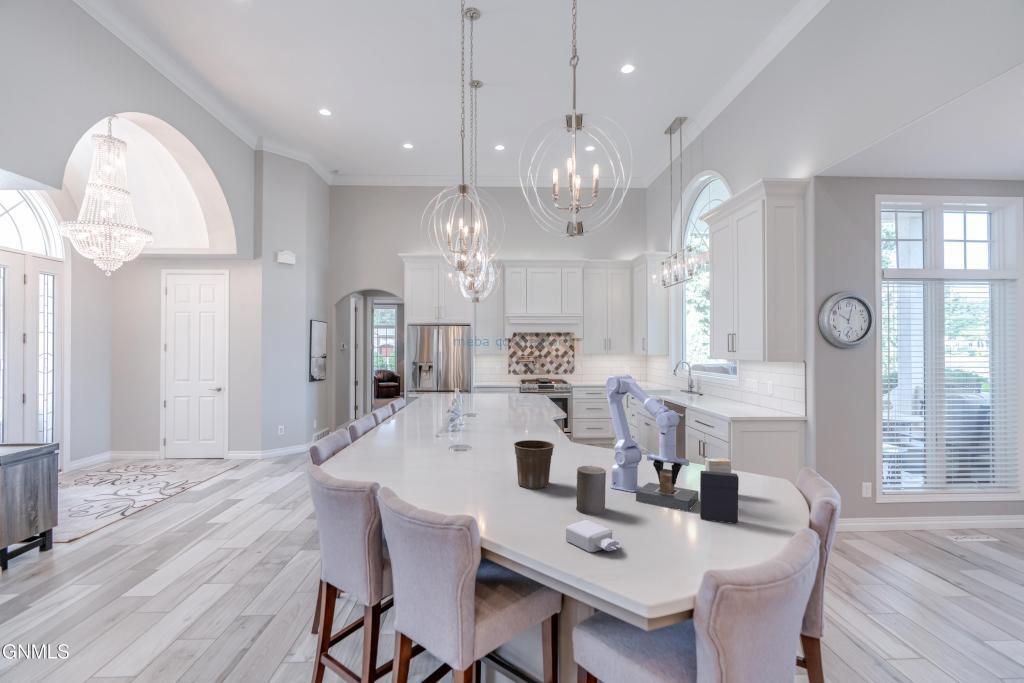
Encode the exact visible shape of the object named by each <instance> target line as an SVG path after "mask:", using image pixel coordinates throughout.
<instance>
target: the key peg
mask: <svg viewBox="0 0 1024 683" xmlns="http://www.w3.org/2000/svg"><path fill="white" fill-rule="evenodd" d="M659 484H660V492H663V493H669V494H674V487H675V485H672V469H667V468H663V469H662V470H661V471H660V482H659Z"/></svg>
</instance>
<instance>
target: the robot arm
mask: <svg viewBox="0 0 1024 683" xmlns="http://www.w3.org/2000/svg"><path fill="white" fill-rule="evenodd" d="M605 389H606V392H607V393H606V399H607V403H608V408H609V412H610V416H611V419H612V425H613V429H614V432H615V436H616V440H617V442H616V444H615V445H614V447H613V450H614V460H615V463H614V464H613V465H612V467H611V468H612V469H611V486H610V488H611V489H614V490H621V491H625V492H631V493H636V491H637V490H639V489H640V488H642V486H641V485H638V479H639V478H638V471H639V470H638V468H639V467H638V466H639V465H640V464H639V463H640V462H641V461H642V459H643V455H642V454H643V453H642V451H641V450H640V448H639V446H638V443H637V442H636V441H635V440H633V438H632V435H631V430H630V428H629V427H630V426H629V423H628V421H627V416H626V412H625V408H624V403H623V399H624V397H625V396H626V395H627V394H628V393H630V394H631V395H632V396H633V397H635V398H636V399H637V400H638V401H640V402H641V403H642V404H643V408H644V410H645V411H646V412H647V413H648V414H649V415H651V416H652V417H653V418H654V419H655V422H656V425H657V426H658V431H659V432H658V433H659V438H658V439H659V441H658V442H659V445H658V446H659V447H658V448H659V453H658V454H651V453H648V454H646V461H653V463H652V466H653V467H654V469H655V471H656V474H657V477H658V482H659V483H660V471H661V470H662V469H664V463H668V464H672V465H671V470H672V485H674V486H675V485H676V484H677V479H678V476H679V474H680V471H681V469H682V467H683V466H685V467H689V466H690V459H687V458H684V457H683V458H682V457H678V456H677V426H678V425H679V424H680V422H681V419H680V416H679V414H678V412H677V411H676V410H670V409H669V407H668V406H665V405H664V404H663V403H662V402H661V401H660V398H658V397H654V396H652V397H651V396H649V394H648V393H646V391H645V390H644V389H643V388H642V387H641V386H640V385H639V384H638V383H637V382H636V379H635V378H633V377H632V375H630V374H624V375H623V374H622V375H610V376H608V378H607V379H606V381H605Z"/></svg>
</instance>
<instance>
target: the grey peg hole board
mask: <svg viewBox="0 0 1024 683" xmlns="http://www.w3.org/2000/svg"><path fill="white" fill-rule="evenodd" d="M637 501H639V502H638V503H642V502H644V503H643V504H647V503H648V504H649V505H652V504H653V505H654V506H657V505H658V506H659V507H662V508H663V507H664V508H667V507H668V509H672V508H673V510H677V509H680V510H679V511H682V510H684V511H683V512H687V511H688V512H689V511H690V510H691V509H692V508H693V507H694V506H695V505H696V504H697V503H698V502H699V490H693V489H688V488H682V487H676V486H674V494H669V493H663V492H660V483H656V482H655V483H654V482H647V483H646V484H644V485H643V486H641V488H640V489H638V490H637V491H635V502H637ZM697 501H698V502H697ZM696 502H697V503H696ZM695 503H696V504H695ZM694 504H695V505H694ZM693 505H694V506H693ZM692 506H693V507H692ZM691 507H692V508H691ZM690 508H691V509H690Z"/></svg>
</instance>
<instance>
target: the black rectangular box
mask: <svg viewBox="0 0 1024 683" xmlns="http://www.w3.org/2000/svg"><path fill="white" fill-rule="evenodd" d="M699 473H700V475H699V476H700V478H699V480H700V482H699V485H700V486H699V487H700V488H699V491H700V493H699V517H700V519H701V520H703V519H706V520H705V521H711V520H715V521H714V522H719V521H723V522H722V523H727V522H731V523H730V524H736V523H737V524H738V523H739V485H740V484H739V479H740V478H739V475H738V474H737V473H733V472H731V473H723V472H712V471H705V470H700V472H699Z"/></svg>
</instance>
